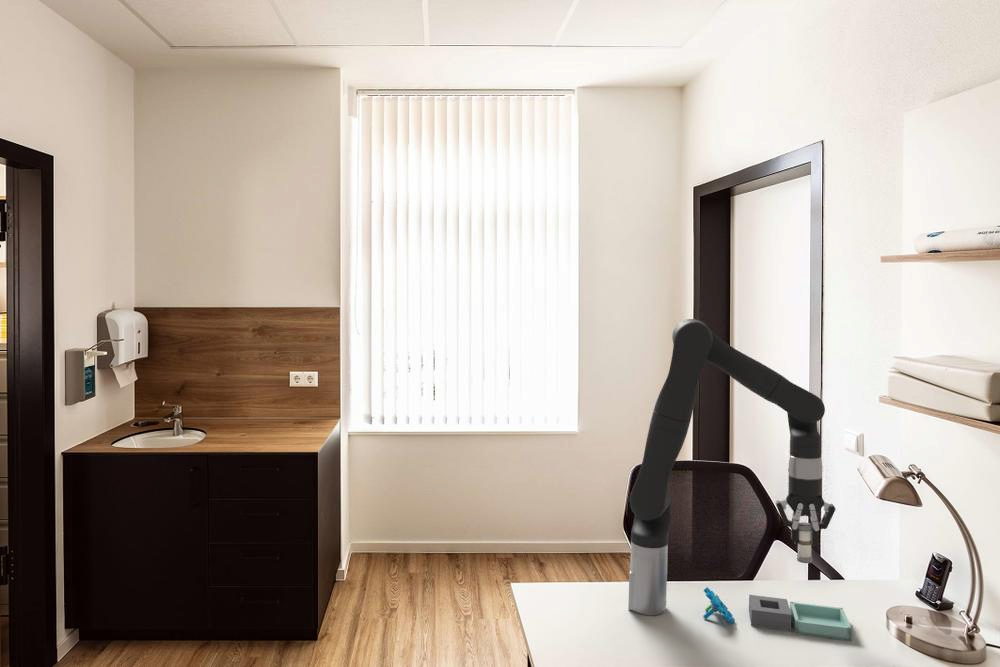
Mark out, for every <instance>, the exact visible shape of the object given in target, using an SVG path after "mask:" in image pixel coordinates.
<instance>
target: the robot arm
mask: <svg viewBox="0 0 1000 667" xmlns="http://www.w3.org/2000/svg"><path fill="white" fill-rule="evenodd" d="M672 331H673V332H672V335H671V336H672V342H673V346H672V354H671V360H670V366H669V370H668V374H667V376H666V379H665V381H664V383H663V385H662V388H660V389H661V390H660V392H659V394H658V396H657V399H656V402H655V405H654V408H653V411H652V416H651V419H650V422H649V426H648V431H647V436H646V441H645V447H644V450H643V451H644V453H643V458H642V462H641V464H640V468H639V471H638V474H637V477H636V480H635V481H634V485H633V487H632V490H631V492H630V494H629V507H630V509H631V511H632V513H633V514H634V515H633V516H634V517H633V524H632V527H631V534H630V565H629V566H630V568H629V573H628V575H629V576H628V577H629V578H628V579H629V580H628V608H627V609H628V611H629V610H630V611H633V612H635V613H637V614H641V615H646V616H658V615H661V614H664V613H665V612H666V610H667V588H668V583H667V582H668V550H669V549H668V548H669V547H668V546H669V545H668V544H669V535H670V534H669V533H670V530H671V529H670V528H671V515H672V514H671V513H672V511H671V510H672V494H671V490H670V488H669V482H670V477H671V473H672V469H673V467H674V464H675V463H676V461H677V459H678V456H679V454H680V452H681V450H682V448H683V445H684V443H685V440H686V437H687V434H688V432H689V428H690V427H689V426H690V424H691V420H692V416H693V411H694V407H695V402H696V397H697V396H696V395H697V389H698V386H699V385H698V384H699V380H700V377H701V374H702V372H703V369H704V367H705V366H704V365H705V363H709V364H711V365H712V366H713V367H716V368H718V369H719V370H721V371H722V372H724V373H726V374H727V375H728V376H729V377H731V378H732V379H734V381H736V382H737V383H739V384H740V385H742V386H743V387H745V388H746V389H748V390H749V391H751V392H752V393H754V394H756V395H757V396H759V397H761V398H763V399H764V400H766V401H767V402H770V403H771V404H774V405H776V406H778V407H779V408H781V409H782V410H783V411H785V412H786V413H787V422H788V428H789V436H790V437H789V458H788V459H789V460H788V468H787V473H788V483H787V484H788V494H787V496H786V498H785V499H782V500H779V499H778V500H776V501H775V506H776V508H777V510H778V513H779V515H780V517H781V520H782V523H783V525H784V526H785V527H789V528H790V538H791V541H792V543H794V545H797V546H798V529H797V527H798V523H799V522H800V520H801V517H805V516H806V517H809V518H810V521H811V524H812V531H811V547H812V546H813V547H814V546H815V547H816V546H817V544H819V540H820V539H819V538H820V536H819V531H820V530H826V529H827V528H828V527H829V524H830V522H831V520H832V518H833V516H834V513H835V512H836V509H837V508H836V506H835V505H834V504H833V503H828V502H827V501H826V502H825V500H824V499H823V460H822V438H821V435H820V433H819V432H818V430H819V429H818V422H819V421H820V420H821V419H823V417H824V416H825V412H826V407H825V404H824V402H823V400H822V399H821V398H820V397H819V396H817V395H816V394H814V393H812V392H810V391H809V390H807V389H805V388H803V387H801V386H799V385H797V384H795V383H793V381H792V382H791V381H790V380H789V379H787V378H786V377H785V376H784V375H782V374H780V373H778V372H777V371H776V370H774V369H772V368H770V367H769V366H767V365H765V364H763V363H762V362H760V361H757V359H754V358H752V357H750V355H746V354H745V353H743V352H741V351H739V350H737V349H736V348H735V347H733V346H731V345H729V344H728V343H727V342H725V341H724V340H723V339H722V338H720V337H719V336H718V335H716V334H715V333H714V332H713V331H712V330H711V329H710V328H709V327H708V326H707V324H706V323H704V322H703V321H701V320H700V319H695V318H688V319H684V320H682V321H680V322H678V324H676V325H675V327H674V329H673V330H672ZM787 505H788V506H789V508H790V509H791V510H792V512H793V513H792V517H791V520H789V519H788V517H787V514H786V512H785V510H786V509H787ZM822 508H823V511H824V514H823V515H822V519H821V521H819V520H818V517H817V514H818V513H819V512H820V510H821V509H822ZM818 521H819V522H818Z"/></svg>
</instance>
